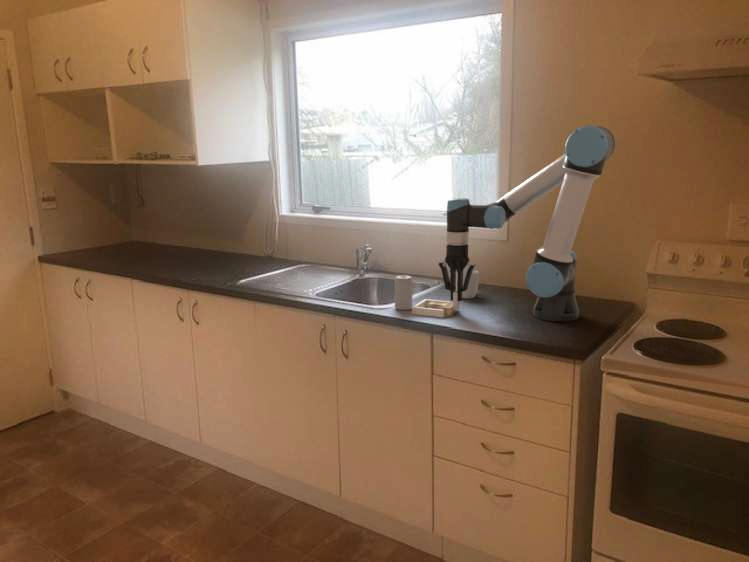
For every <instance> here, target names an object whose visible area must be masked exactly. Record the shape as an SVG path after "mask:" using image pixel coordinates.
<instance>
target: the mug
mask: <svg viewBox="0 0 749 562" xmlns="http://www.w3.org/2000/svg"><path fill="white" fill-rule="evenodd" d="M467 270H468V268H467V269H465V268H464V271H463V285H464V281H465V277H466V274H467ZM479 275H480V274H479V271H478V270H476V269H473V271H472V275H471V278H470V282H469V285H468V289H467V290H466V291H463V292H462V299H473V298H475V297H476V295H477V293H478V290H479V289H478V288H479V283H480V276H479ZM457 279H458V273H457V270H456V290H455V291H457Z"/></svg>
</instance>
